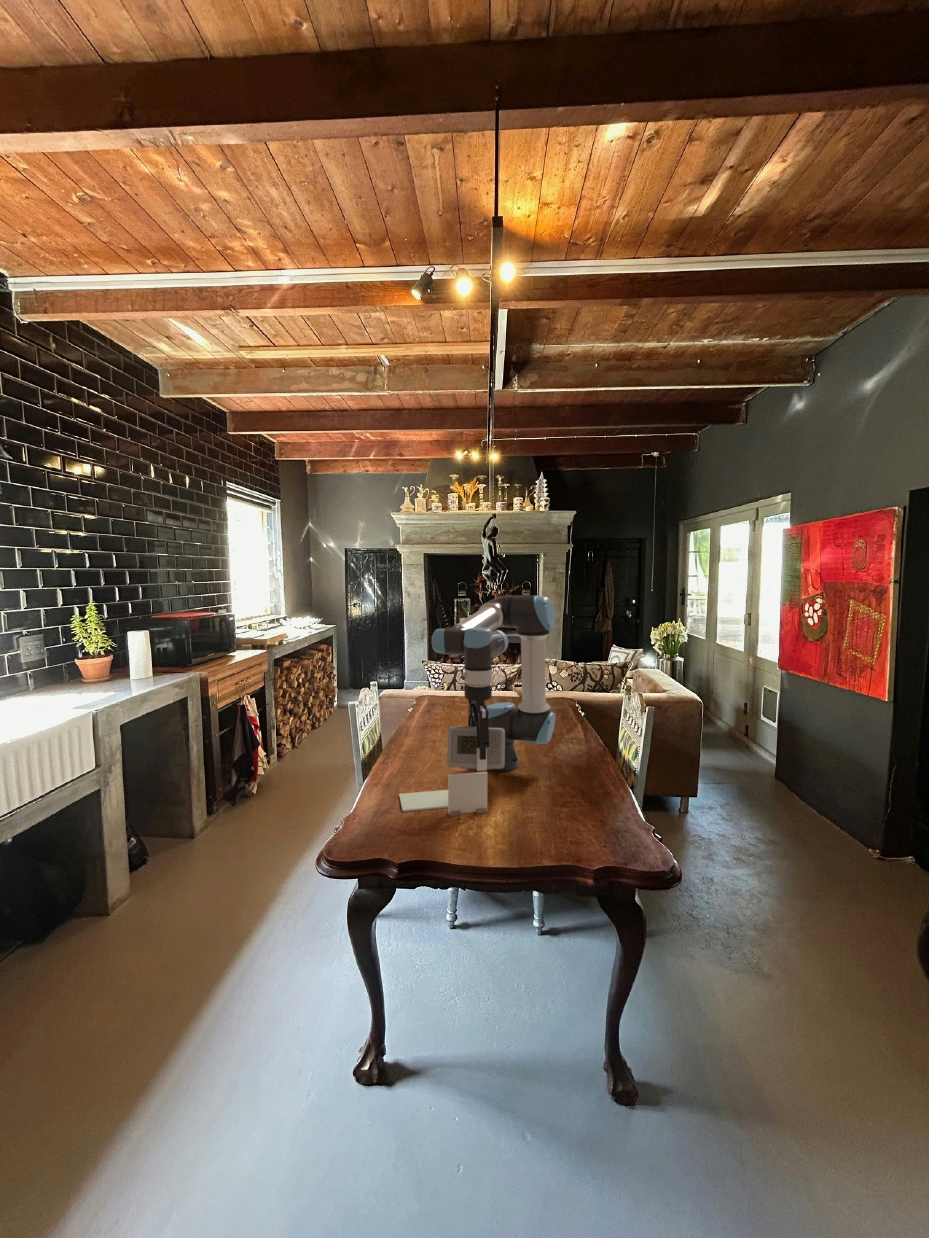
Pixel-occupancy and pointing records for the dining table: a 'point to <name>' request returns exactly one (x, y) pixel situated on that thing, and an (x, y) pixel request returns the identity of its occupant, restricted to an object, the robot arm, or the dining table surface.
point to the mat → (424, 800)
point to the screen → (467, 793)
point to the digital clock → (465, 752)
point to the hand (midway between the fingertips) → (478, 763)
